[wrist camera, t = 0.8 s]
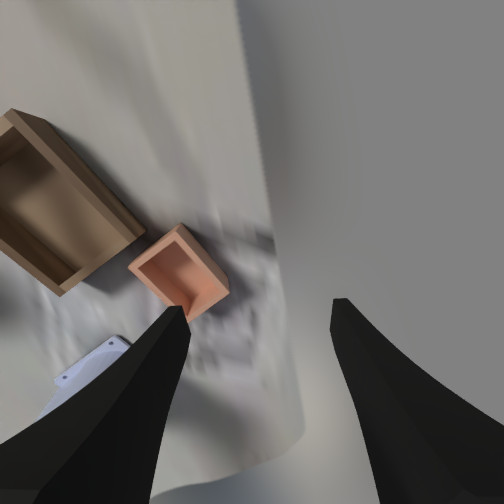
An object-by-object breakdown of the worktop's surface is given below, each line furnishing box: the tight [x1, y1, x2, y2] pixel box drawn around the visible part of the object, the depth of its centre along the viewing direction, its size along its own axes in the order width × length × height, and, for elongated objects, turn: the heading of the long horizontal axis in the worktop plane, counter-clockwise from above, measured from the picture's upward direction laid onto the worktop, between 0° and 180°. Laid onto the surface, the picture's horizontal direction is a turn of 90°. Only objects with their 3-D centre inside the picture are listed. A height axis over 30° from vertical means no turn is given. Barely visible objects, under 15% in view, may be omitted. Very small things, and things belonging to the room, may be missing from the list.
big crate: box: [0, 108, 147, 297], centre depth 20 cm, size 9×12×4 cm
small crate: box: [128, 223, 230, 323], centre depth 24 cm, size 6×8×4 cm
